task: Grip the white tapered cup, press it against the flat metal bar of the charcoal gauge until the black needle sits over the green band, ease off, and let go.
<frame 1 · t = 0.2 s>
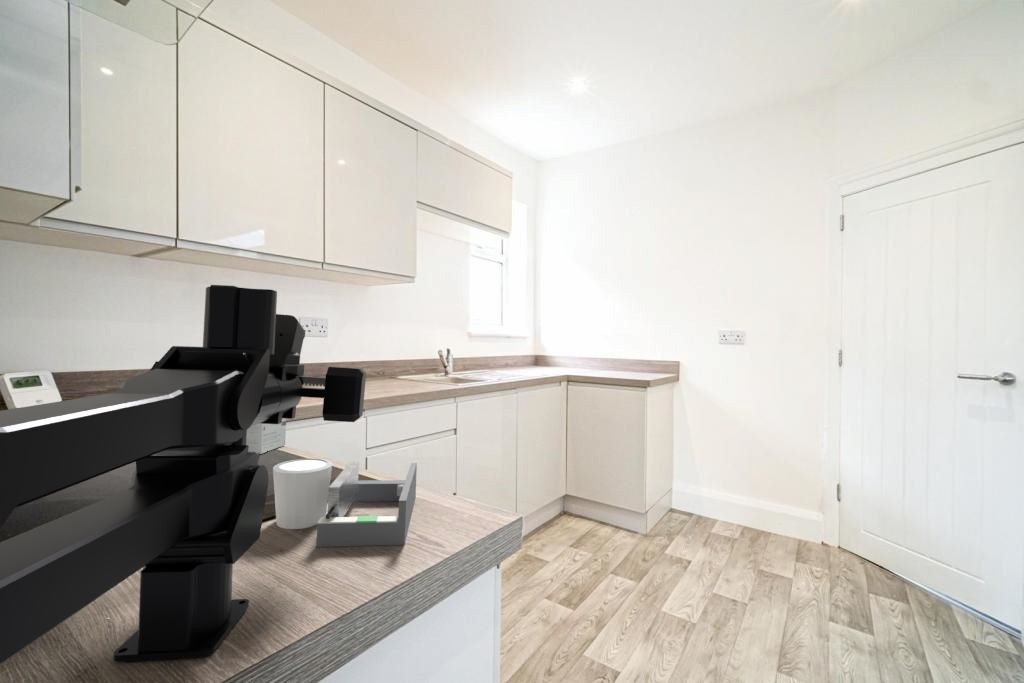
hand: (302, 385, 60), 17 cm above the countertop, tool horizontal, fingers open, 9 cm apart
white tapered cup: (301, 521, 57), on the countertop
skincare box: (260, 450, 91), on the countertop
gauge: (371, 518, 58), on the countertop
flat metal bar: (342, 493, 56), point 4 cm above the countertop, slide at 0.0 cm
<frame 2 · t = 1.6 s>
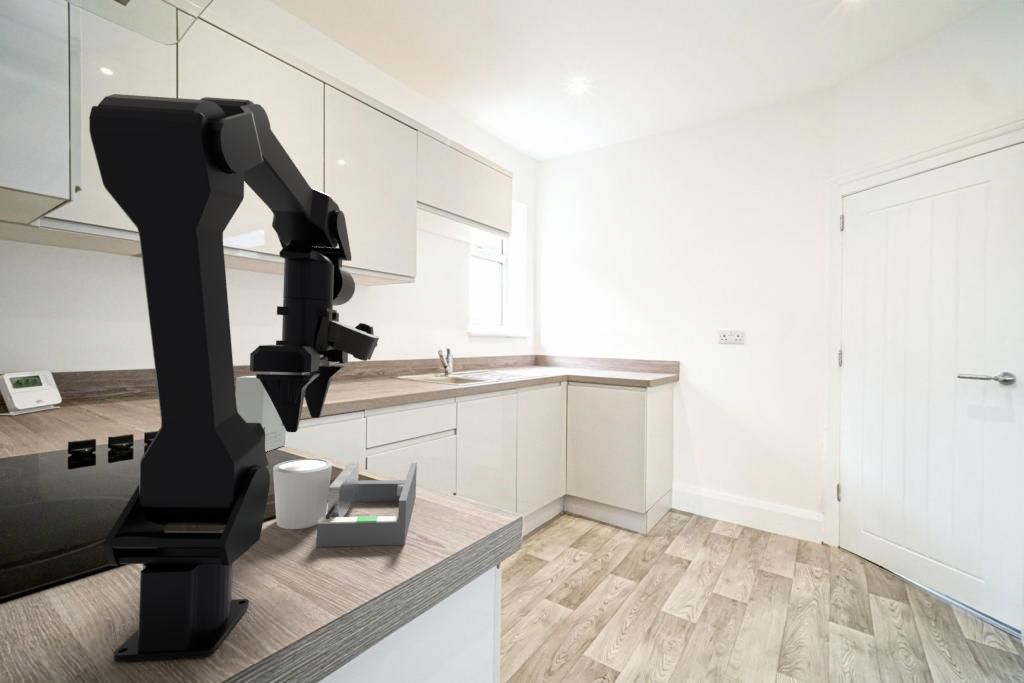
hand: (304, 424, 57), 12 cm above the countertop, tool pointing down, fingers open, 9 cm apart
nothing on the countertop moved.
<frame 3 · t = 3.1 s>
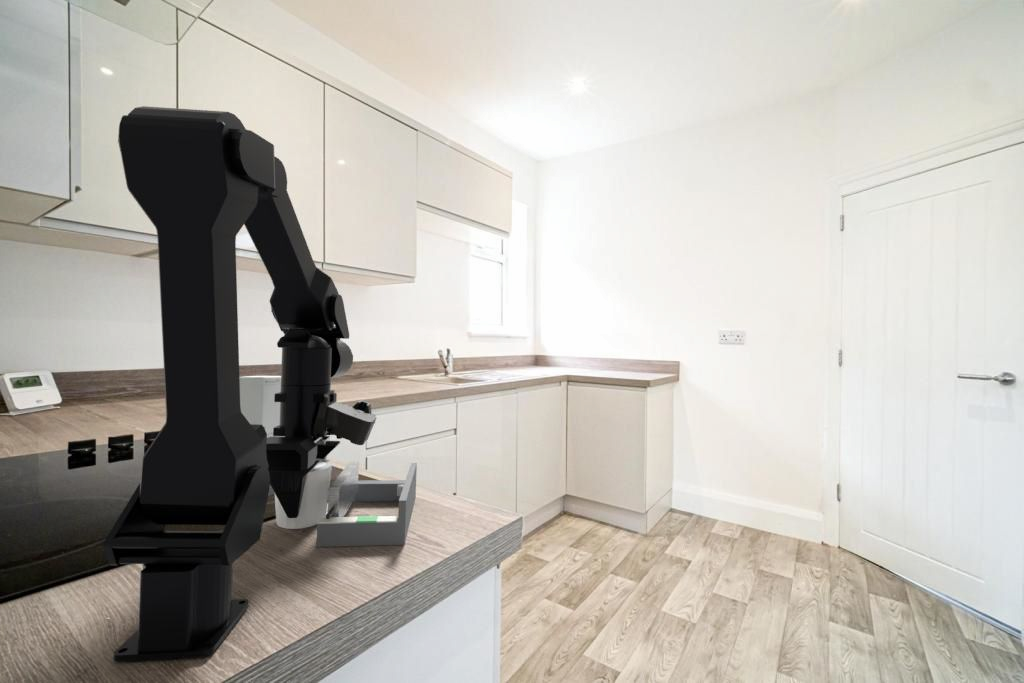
hand: (301, 507, 57), 2 cm above the countertop, tool pointing down, fingers closed on white tapered cup, 6 cm apart
white tapered cup: (301, 521, 57), on the countertop, touching gripper
everything else where it was.
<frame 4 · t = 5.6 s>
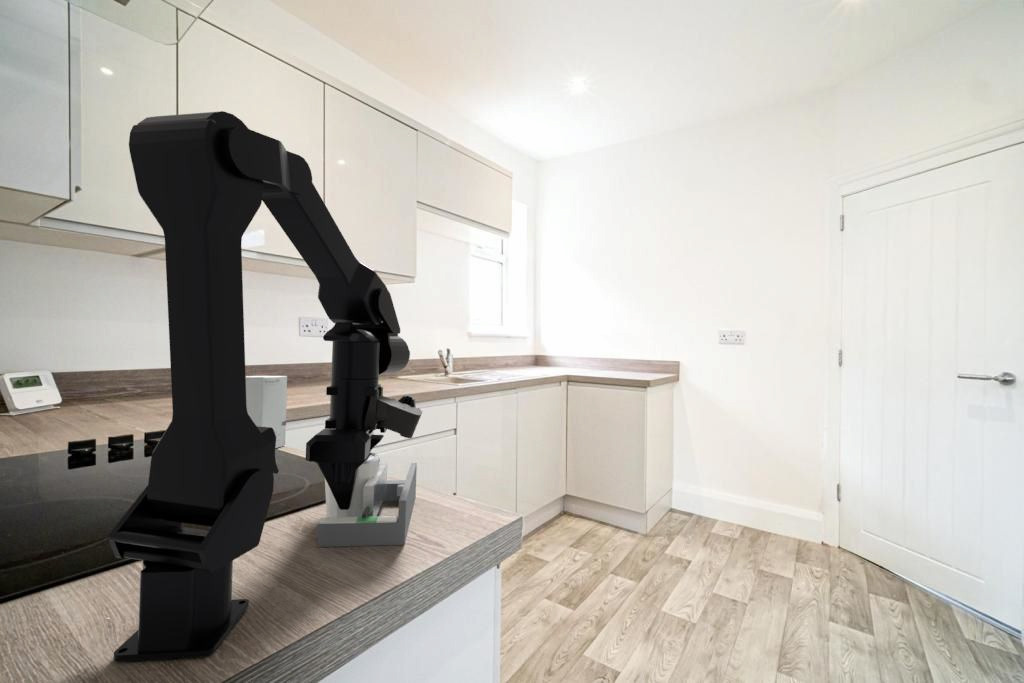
hand: (350, 499, 58), 2 cm above the countertop, tool pointing down, fingers closed on white tapered cup, 6 cm apart
white tapered cup: (349, 513, 58), point 1 cm above the countertop, touching gripper, flat metal bar
flat metal bar: (374, 493, 57), point 4 cm above the countertop, slide at 3.9 cm, touching white tapered cup
everything else where it was.
when the fingers open (2 cm above the countertop, at t = 7.0 s): white tapered cup stays where it is, on the countertop.
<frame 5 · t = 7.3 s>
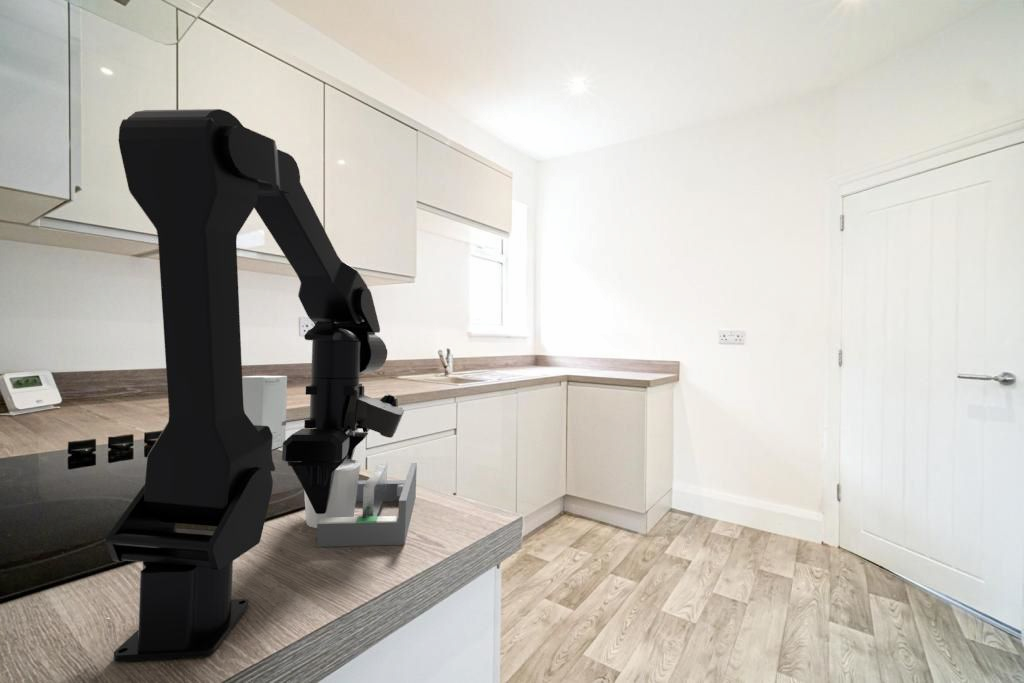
hand: (331, 499, 57), 2 cm above the countertop, tool pointing down, fingers open, 9 cm apart
white tapered cup: (330, 521, 57), on the countertop
flat metal bar: (374, 493, 57), point 4 cm above the countertop, slide at 3.9 cm
everything else where it was.
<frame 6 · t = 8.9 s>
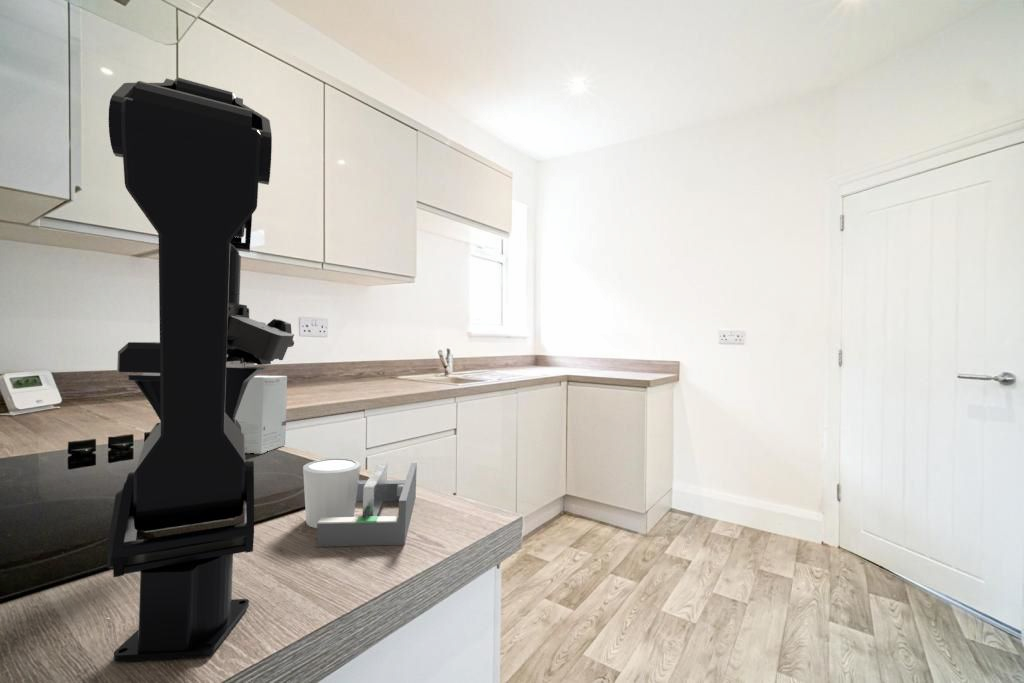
hand: (205, 432, 51), 12 cm above the countertop, tool pointing down, fingers open, 9 cm apart
nothing on the countertop moved.
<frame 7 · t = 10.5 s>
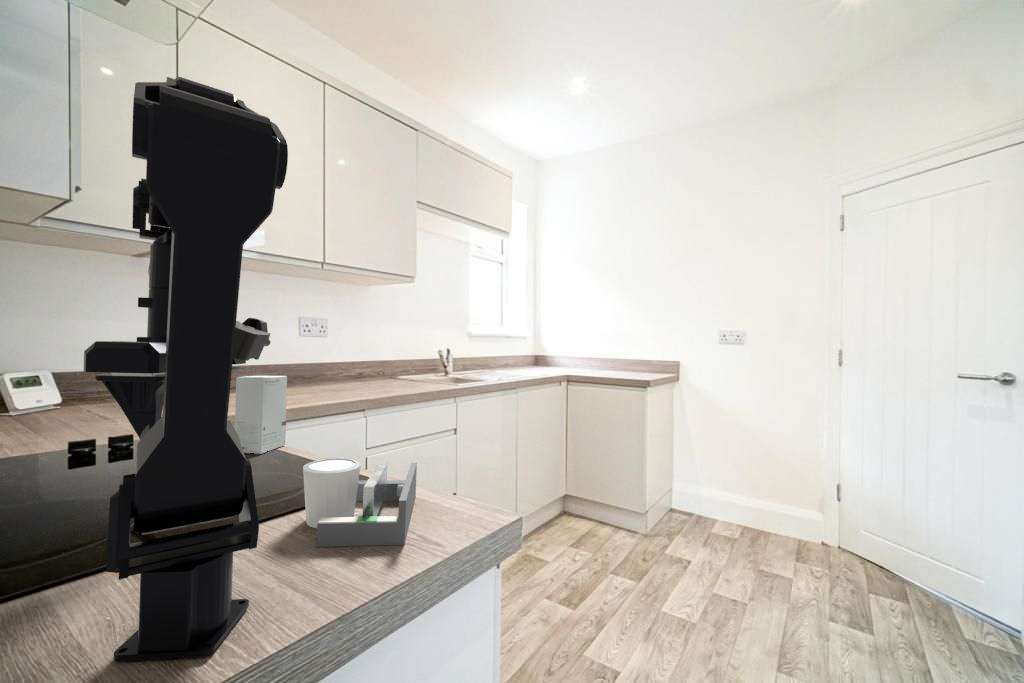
hand: (177, 433, 50), 12 cm above the countertop, tool pointing down, fingers open, 9 cm apart
nothing on the countertop moved.
at the end: flat metal bar slide at 3.9 cm; the gripper is holding nothing; white tapered cup tilted 0° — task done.
